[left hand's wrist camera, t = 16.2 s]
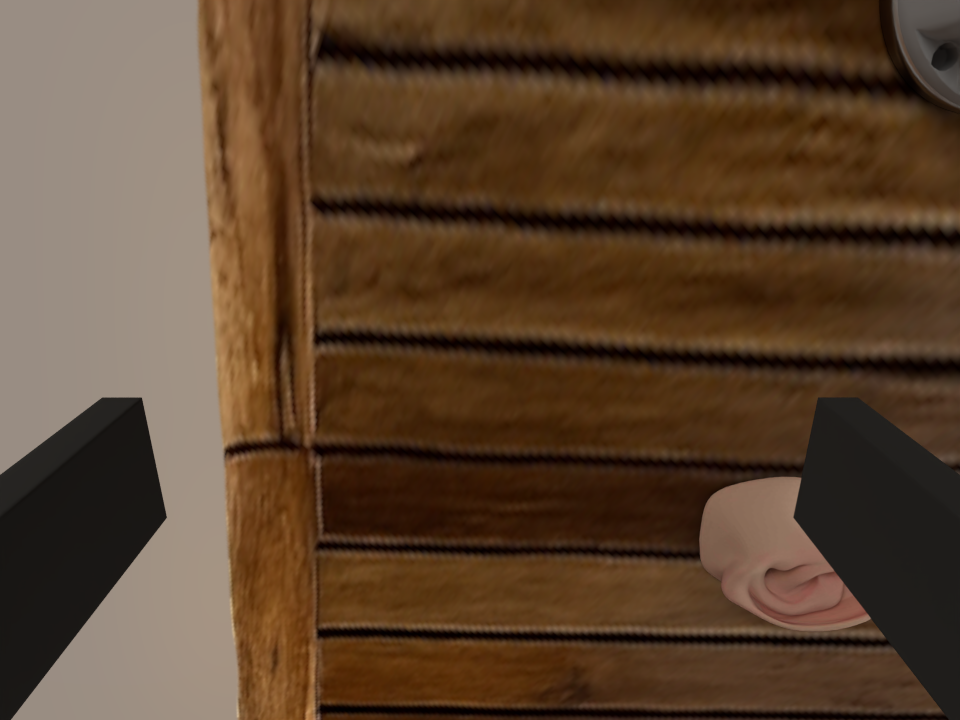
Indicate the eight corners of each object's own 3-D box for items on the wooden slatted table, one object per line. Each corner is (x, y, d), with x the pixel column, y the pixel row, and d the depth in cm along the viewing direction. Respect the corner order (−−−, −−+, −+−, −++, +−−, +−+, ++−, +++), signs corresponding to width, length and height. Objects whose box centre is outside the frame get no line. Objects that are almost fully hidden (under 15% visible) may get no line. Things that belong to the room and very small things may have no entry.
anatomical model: (691, 540, 44) (857, 473, 42) (675, 506, 48) (827, 444, 46) (753, 671, 48) (906, 616, 46) (733, 631, 52) (874, 578, 50)
